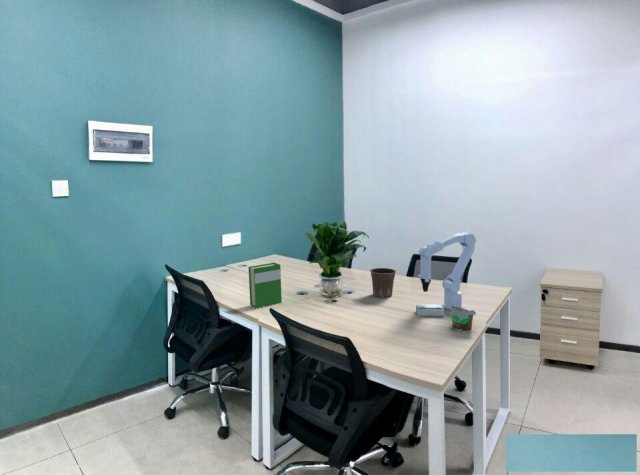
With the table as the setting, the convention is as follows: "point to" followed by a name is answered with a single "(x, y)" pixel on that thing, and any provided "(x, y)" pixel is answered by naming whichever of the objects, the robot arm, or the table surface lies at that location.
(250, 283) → the hardback book
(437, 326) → the table surface
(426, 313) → the grey slotted block
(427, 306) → the cover
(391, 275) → the plant pot
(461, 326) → the food container
